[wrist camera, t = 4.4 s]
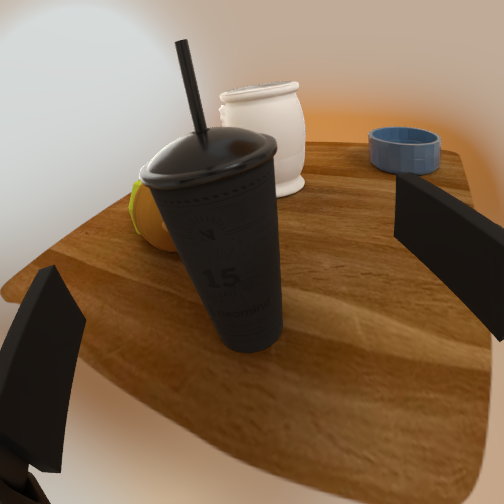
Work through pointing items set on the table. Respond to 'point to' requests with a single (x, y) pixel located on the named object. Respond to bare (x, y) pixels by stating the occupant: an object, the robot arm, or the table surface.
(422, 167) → the bowl
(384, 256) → the table surface
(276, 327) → the drinking cup
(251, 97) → the jar
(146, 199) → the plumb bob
